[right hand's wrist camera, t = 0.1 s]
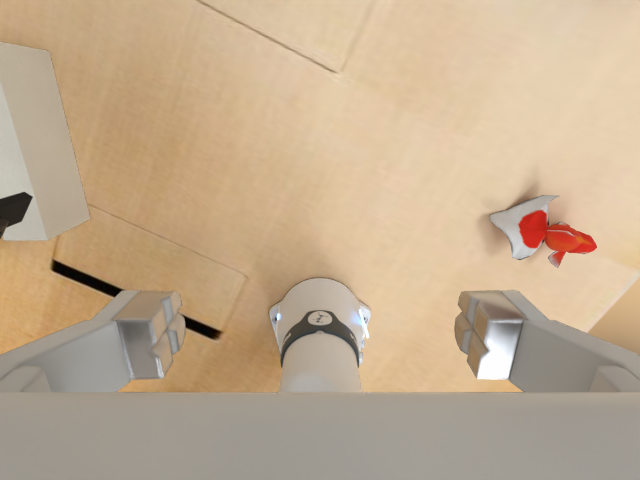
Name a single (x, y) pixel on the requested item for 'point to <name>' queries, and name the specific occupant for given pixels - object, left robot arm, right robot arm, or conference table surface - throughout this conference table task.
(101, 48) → the conference table surface
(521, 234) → the fish
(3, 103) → the box
